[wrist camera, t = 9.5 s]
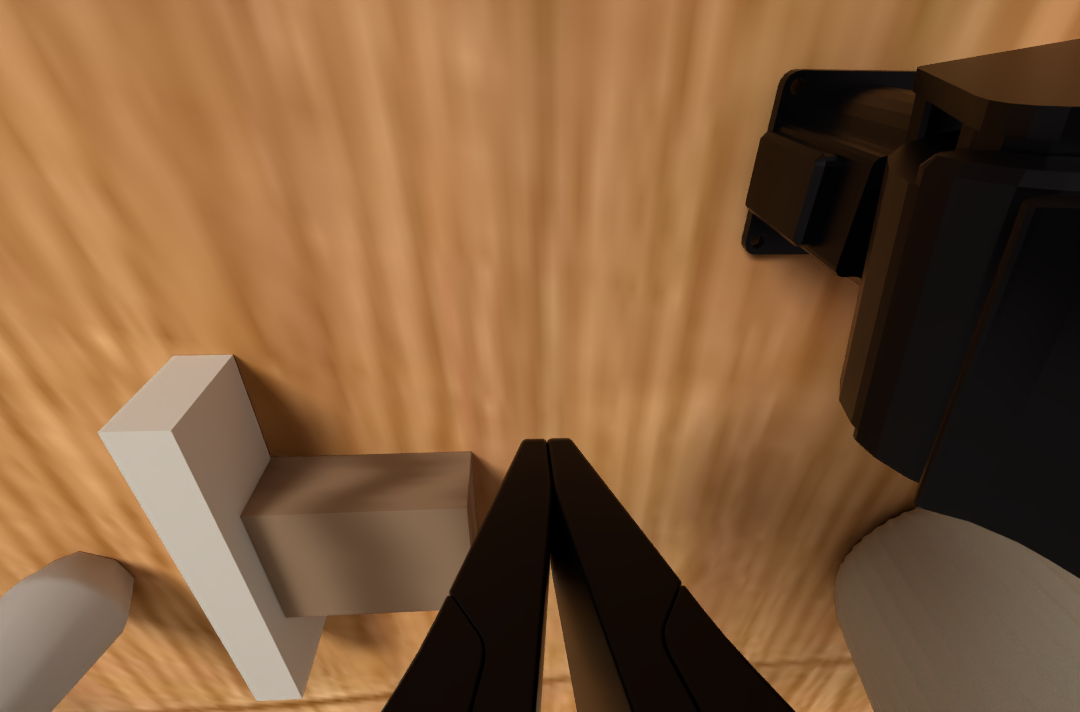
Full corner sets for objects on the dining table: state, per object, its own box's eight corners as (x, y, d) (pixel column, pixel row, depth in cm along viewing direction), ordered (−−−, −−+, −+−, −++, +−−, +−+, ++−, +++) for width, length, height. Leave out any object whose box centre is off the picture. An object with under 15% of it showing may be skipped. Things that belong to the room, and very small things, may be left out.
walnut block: (471, 447, 27) (466, 508, 23) (479, 545, 31) (476, 608, 28) (273, 453, 26) (240, 516, 23) (309, 552, 31) (286, 617, 27)
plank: (232, 354, 23) (171, 430, 18) (327, 613, 33) (302, 698, 29) (173, 355, 22) (97, 432, 18) (288, 615, 33) (256, 700, 29)
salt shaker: (166, 568, 30) (-27, 878, 19) (130, 613, 32) (-60, 915, 21) (53, 528, 28) (-238, 855, 17) (23, 580, 30) (-252, 899, 19)
